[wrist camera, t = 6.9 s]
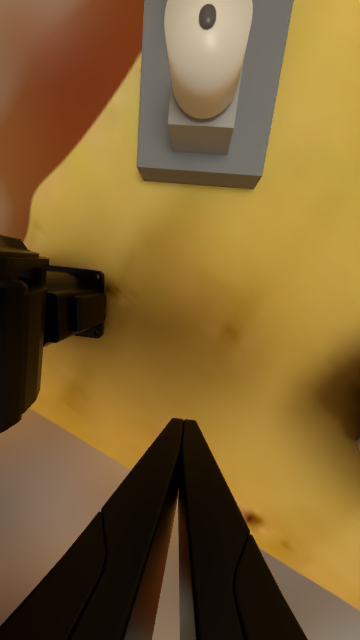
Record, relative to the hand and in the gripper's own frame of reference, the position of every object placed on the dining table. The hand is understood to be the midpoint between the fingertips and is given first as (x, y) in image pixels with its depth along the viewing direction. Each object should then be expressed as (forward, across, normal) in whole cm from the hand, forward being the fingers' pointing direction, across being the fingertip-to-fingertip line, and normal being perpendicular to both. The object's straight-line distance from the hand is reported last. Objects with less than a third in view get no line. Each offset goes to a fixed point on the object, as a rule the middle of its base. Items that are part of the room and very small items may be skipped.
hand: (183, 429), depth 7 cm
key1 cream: (+10, 0, -16) cm, 18 cm away
